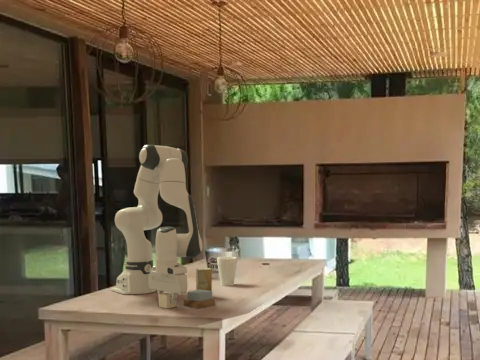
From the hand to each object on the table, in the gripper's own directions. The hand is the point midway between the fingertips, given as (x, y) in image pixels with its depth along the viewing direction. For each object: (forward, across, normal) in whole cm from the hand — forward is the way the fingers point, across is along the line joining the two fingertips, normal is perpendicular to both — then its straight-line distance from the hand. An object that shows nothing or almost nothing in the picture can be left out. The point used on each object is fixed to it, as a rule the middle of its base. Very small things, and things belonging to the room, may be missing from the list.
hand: (167, 302), depth 224 cm
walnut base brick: (+2, +8, +10) cm, 13 cm away
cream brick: (+2, 0, 0) cm, 2 cm away
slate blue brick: (-1, +8, +10) cm, 13 cm away
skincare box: (+2, -3, +23) cm, 23 cm away
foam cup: (+2, -16, +51) cm, 53 cm away
